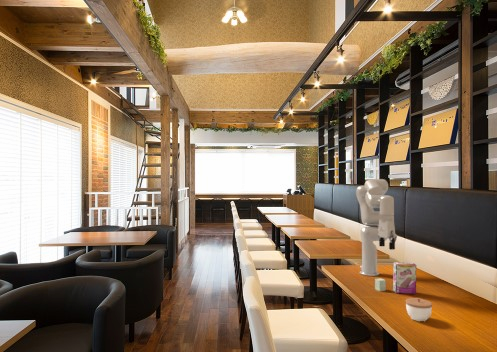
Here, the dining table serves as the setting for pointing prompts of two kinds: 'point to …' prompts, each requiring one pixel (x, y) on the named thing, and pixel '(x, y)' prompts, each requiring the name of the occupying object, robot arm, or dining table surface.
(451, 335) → the dining table surface
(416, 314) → the lidded jar
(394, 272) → the candy bar box
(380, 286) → the sage block
